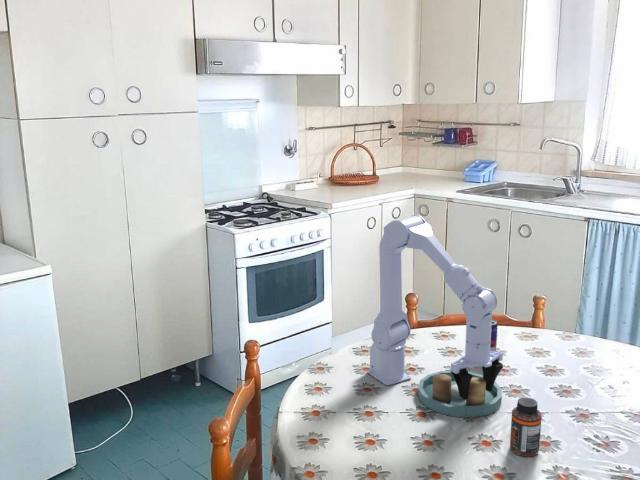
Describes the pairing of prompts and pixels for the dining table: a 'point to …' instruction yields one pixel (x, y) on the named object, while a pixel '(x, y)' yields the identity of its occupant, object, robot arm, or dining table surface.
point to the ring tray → (458, 398)
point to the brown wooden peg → (442, 388)
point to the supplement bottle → (525, 427)
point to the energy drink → (493, 335)
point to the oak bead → (476, 392)
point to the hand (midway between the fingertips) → (475, 393)
